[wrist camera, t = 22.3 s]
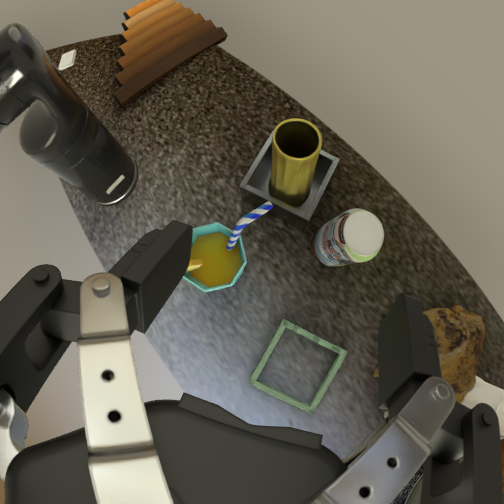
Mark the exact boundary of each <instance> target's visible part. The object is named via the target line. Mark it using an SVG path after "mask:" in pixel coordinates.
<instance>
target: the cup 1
mask: <svg viewBox="0 0 504 504" xmlns="http://www.w3.org/2000/svg"><path fill="white" fill-rule="evenodd" d="M272 208H273V205H272V203H271V202H270V201H268V202H266V203H265V204H263V205H261V206H260V207H258V208H256V209H255V210H253V211H251V212H250V213H248V214H247V215H245V216H243V217H242V218H241V219H240V220H239V221H238V223H237V224H236V225H235V227H234V229H233V231H232V230H230V229H229V228H227V227H225V226H224V225H222V224H220V223H219V222H216V223H212V224H208V225H204V226H200V227H196V228H193V235H192V245H191V256H190V263H189V266H188V269H187V271H186V273H185V275H184V276H183V278H184V279H185V280H187V281H188V282H190V283H191V284H193V285H194V286H196V287H197V288H199V289H200V290H202V291H204V292H209V291H214V290H218V289H222V288H227V287H231V286H233V285H235V284H236V283H237V281H238V280H239V278H240V276H241V275H242V273H243V270H244V267H245V265H246V264H247V260H246V256H245V251H244V247H243V243H242V238H241V235H240V233H241V231H242V229H243V228H244V227H245V226H246V225H247V224H249V223H250V222H252V221H254V220H255V219H257V218H258V217H260V216H261V215H263V214H264V213H266V212H267V211H269V210H270V209H272Z"/></svg>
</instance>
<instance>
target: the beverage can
mask: <svg viewBox="0 0 504 504" xmlns="http://www.w3.org/2000/svg"><path fill="white" fill-rule="evenodd" d="M383 240H384V231H383V227H382V224H381V222H380V221H379V219H378V218H377V217H376V216H375V215H374V214H372V213H370V212H368V211H366V210H363V209H358V208H356V209H350V210H348V211H346V212H344V213H342V214H341V215H339V216H337V217H336V218H334V219H332V220H331V221H329V222H327V223H326V224H324V225H322V226H321V227H319V228H318V229H317V230H316V232H315V233H314V235H313V238H312V250H313V253H314V255H315V257H316V258H317V260H318V261H320V262H321V263H322V264H324V265H326V266H330V267H336V266H342V265H348V264H354V263H360V262H365V261H368V260H370V259H372V258H373V257H374V256H375V255H376V254H377V253H378V252H379V250H380V248H381V246H382V243H383Z"/></svg>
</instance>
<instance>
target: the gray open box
mask: <svg viewBox="0 0 504 504" xmlns="http://www.w3.org/2000/svg"><path fill="white" fill-rule="evenodd" d="M274 130H275V129H274ZM274 130H273V132H274ZM273 132H272V133H271V135H270V136H269V138H268V140H267V141H266V143H265V144H264V146H263V148H262V149H261V151H260V153H259V154H258V156H257V158H256V159H255V161H254V163H253V164H252V166H251V167H250V169H249V171H248V172H247V174H246V176H245V177H244V179H243V181H242V183H241V184H240V186H239V187H240V191H241V195H242V199H243V201H245V202H247V203H249V204H251V205H253V206H255V207H257V208H258V207H260V206H261V205H263V204H265V203H266V202H268V201H270V202H271V203H272V205H273V208H272V209H270V210H269V211H267V213H269V214H271V215H273V216H275V217H277V218H278V219H280V220H282V221H284V222H286V223H288V224H290V225H292V226H294V227H296V228H298V229H300V230H302V231H305V229H306V227H307V225H308V223H309V221H310V219H311V217H312V215H313V213H314V211H315V209H316V207H317V205H318V204H319V202H320V200H321V198H322V196H323V194H324V192H325V190H326V188H327V186H328V184H329V182H330V180H331V177H332V175H333V173H334V171H335V169H336V167H337V164H338V162H339V160H340V159H338V158H336V157H334V156H332V155H330V154H328V153H326V152H324V151H322V150H320V153H319V156H318V159H317V162H316V166H315V171H314V175H313V180H312V184H311V191H310V194H309V197H308V198H307V199H306V200H305V202H303V203H302V204H300V205H297V206H294V207H292V206H290V205H288V204H286V203H284V202H282V201H280V200H278V199H276V198H274V197H272V196H271V195H270V193H269V189H268V184H269V180H270V176H271V170H272V136H273Z"/></svg>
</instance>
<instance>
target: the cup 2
mask: <svg viewBox="0 0 504 504" xmlns="http://www.w3.org/2000/svg"><path fill="white" fill-rule="evenodd" d="M479 403H486V404H488V405H490V406H491V407H492V408H493V409H494V410H495V412H496V414H497V416H498V420H499V427H500V438H501V439H503V438H504V390H503V389H501V388H498V387H496V386H493V385H491V384H489V383H486V382H484V380H482V379H481V378H479V377H477V376H476V383H475V385H474V388H473V389H471V390H470V391H469V392H467V393H466V395H465V397H464V399H463V401H462V402H461V404H462V405H464V406H466V407H468V408H470V409H472V408H473V407H474V406H476V405H477V404H479Z"/></svg>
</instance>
